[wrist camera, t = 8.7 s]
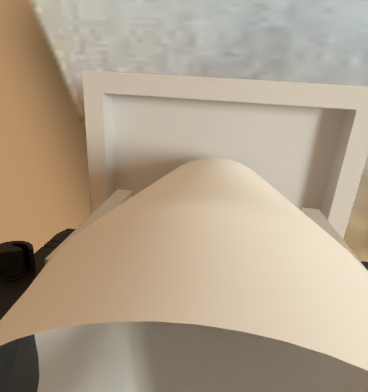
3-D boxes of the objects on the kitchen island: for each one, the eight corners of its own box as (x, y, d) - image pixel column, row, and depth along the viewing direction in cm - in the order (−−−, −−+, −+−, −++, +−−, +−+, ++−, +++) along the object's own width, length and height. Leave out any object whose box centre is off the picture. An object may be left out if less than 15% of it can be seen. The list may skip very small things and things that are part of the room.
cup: (115, 255, 17) (-82, 564, 6) (157, 106, 14) (-115, 181, 3) (257, 305, 17) (323, 708, 6) (332, 168, 14) (795, 503, 3)
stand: (137, 77, 23) (81, 69, 14) (318, 88, 22) (386, 87, 13) (137, 232, 28) (96, 300, 19) (284, 249, 27) (316, 331, 18)
